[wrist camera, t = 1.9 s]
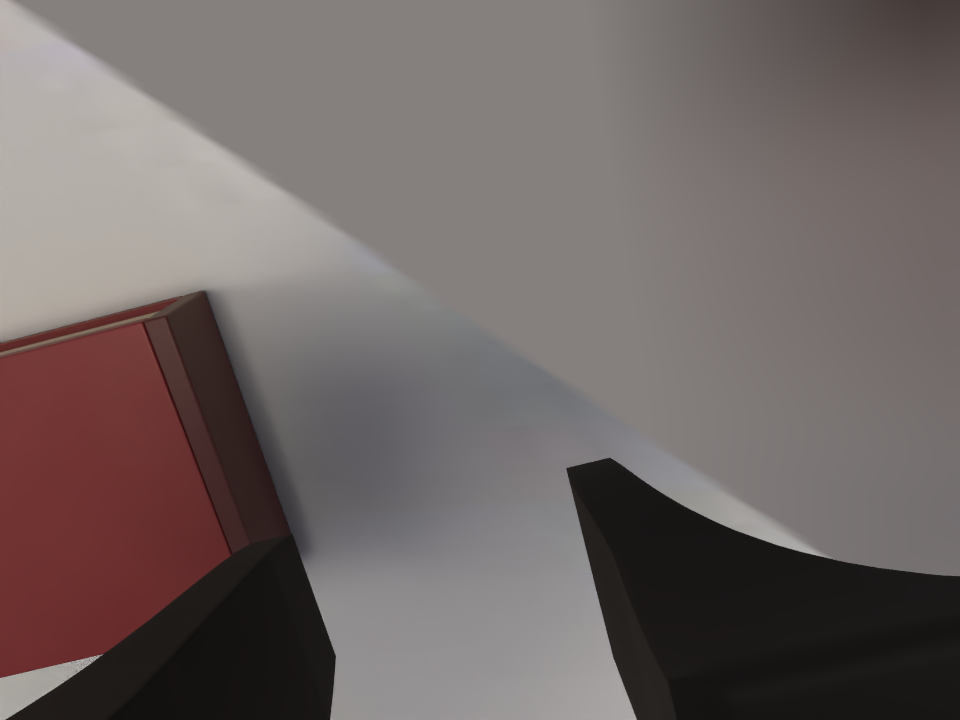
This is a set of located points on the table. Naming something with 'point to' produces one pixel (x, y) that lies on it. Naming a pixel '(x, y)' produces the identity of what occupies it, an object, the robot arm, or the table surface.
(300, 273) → the table surface
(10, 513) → the book
